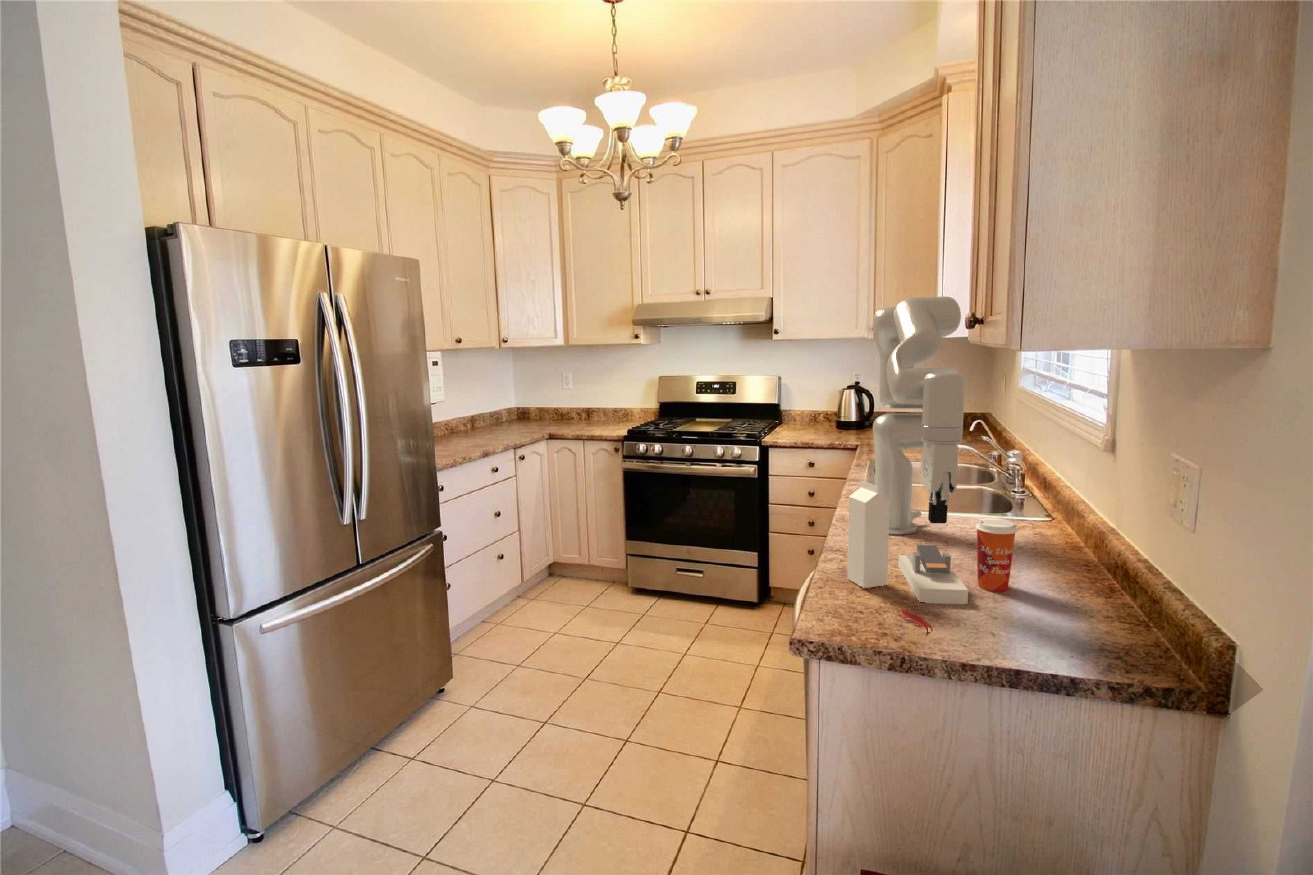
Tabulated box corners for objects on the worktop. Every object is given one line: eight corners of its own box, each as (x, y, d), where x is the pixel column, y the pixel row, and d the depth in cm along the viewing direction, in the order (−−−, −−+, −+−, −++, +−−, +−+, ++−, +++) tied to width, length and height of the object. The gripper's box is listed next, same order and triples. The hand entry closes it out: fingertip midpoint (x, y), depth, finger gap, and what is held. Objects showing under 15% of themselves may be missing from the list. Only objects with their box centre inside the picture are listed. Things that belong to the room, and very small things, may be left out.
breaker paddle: (916, 549, 143) (917, 544, 142) (935, 550, 142) (936, 544, 142) (926, 572, 135) (926, 566, 134) (946, 573, 134) (947, 567, 134)
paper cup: (977, 592, 134) (980, 526, 132) (968, 579, 142) (972, 516, 140) (1019, 595, 133) (1023, 528, 130) (1008, 581, 140) (1012, 518, 138)
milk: (870, 576, 145) (873, 479, 142) (887, 586, 139) (891, 484, 136) (846, 580, 143) (848, 481, 140) (863, 590, 137) (866, 487, 134)
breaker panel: (898, 567, 150) (899, 539, 149) (939, 568, 148) (941, 540, 147) (919, 602, 130) (920, 570, 129) (967, 604, 129) (969, 571, 128)
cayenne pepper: (937, 639, 116) (937, 629, 115) (909, 638, 116) (910, 628, 116) (920, 610, 127) (920, 601, 127) (895, 610, 128) (895, 601, 128)
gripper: (913, 427, 138) (909, 511, 142) (931, 441, 124) (927, 533, 127) (950, 427, 137) (946, 511, 140) (973, 440, 123) (968, 534, 126)
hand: (937, 521), depth 134 cm, fingers closed
